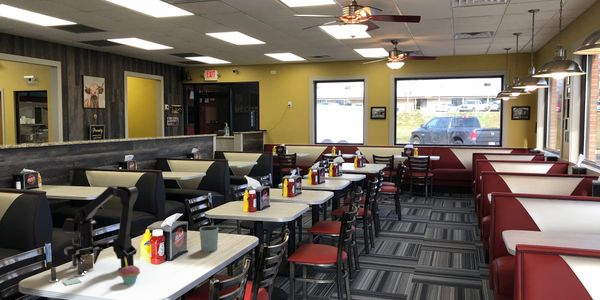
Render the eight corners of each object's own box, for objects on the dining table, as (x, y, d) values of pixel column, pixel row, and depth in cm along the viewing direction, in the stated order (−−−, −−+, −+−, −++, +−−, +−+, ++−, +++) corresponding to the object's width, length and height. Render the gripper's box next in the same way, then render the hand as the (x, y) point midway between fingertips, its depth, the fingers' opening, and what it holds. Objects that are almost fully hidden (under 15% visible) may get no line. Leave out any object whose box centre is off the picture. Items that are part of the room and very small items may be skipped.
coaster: (81, 282, 205) (81, 281, 205) (66, 285, 201) (66, 284, 201) (77, 278, 209) (77, 277, 209) (62, 282, 205) (62, 281, 205)
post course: (90, 274, 215) (90, 261, 214) (50, 283, 204) (49, 270, 203) (78, 265, 229) (77, 253, 229) (39, 273, 218) (38, 260, 217)
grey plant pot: (210, 246, 259) (209, 224, 258) (223, 249, 253) (222, 227, 252) (196, 250, 250) (195, 228, 250) (209, 253, 245) (208, 231, 244)
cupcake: (128, 287, 198) (126, 259, 197) (115, 283, 202) (114, 256, 201) (144, 280, 205) (143, 254, 204) (131, 277, 210) (130, 251, 209)
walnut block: (93, 268, 224) (92, 255, 224) (84, 269, 222) (83, 257, 221) (90, 266, 227) (89, 253, 227) (81, 267, 225) (81, 255, 224)
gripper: (100, 227, 235) (101, 257, 236) (59, 233, 223) (61, 265, 224) (108, 231, 227) (109, 262, 228) (66, 238, 215) (68, 271, 216)
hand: (87, 265), depth 224 cm, fingers open, 6 cm apart
